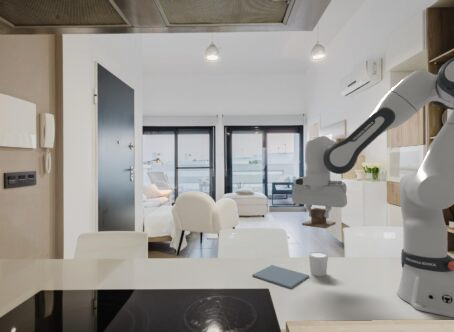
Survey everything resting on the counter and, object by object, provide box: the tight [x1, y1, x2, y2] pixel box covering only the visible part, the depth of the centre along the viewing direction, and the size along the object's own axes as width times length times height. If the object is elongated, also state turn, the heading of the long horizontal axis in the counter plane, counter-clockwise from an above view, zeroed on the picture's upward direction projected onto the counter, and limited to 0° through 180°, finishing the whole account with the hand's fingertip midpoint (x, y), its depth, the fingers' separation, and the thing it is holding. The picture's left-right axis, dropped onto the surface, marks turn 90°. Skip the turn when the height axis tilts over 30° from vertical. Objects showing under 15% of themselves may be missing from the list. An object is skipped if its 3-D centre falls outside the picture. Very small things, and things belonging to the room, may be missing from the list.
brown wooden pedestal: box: [301, 207, 337, 229], centre depth 108 cm, size 9×9×6 cm
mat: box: [252, 264, 310, 289], centre depth 106 cm, size 16×13×1 cm
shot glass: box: [308, 251, 329, 277], centre depth 109 cm, size 7×7×7 cm
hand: (318, 217), depth 108 cm, fingers closed on brown wooden pedestal, 4 cm apart
